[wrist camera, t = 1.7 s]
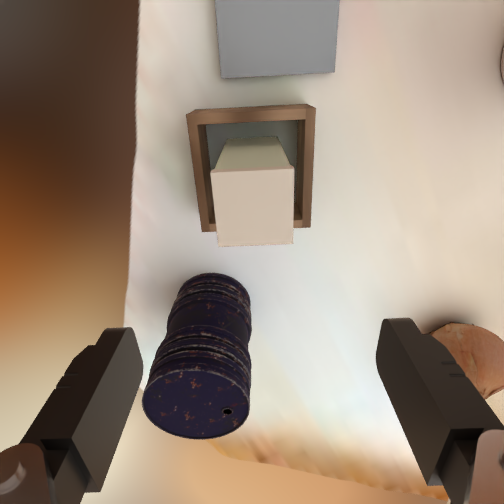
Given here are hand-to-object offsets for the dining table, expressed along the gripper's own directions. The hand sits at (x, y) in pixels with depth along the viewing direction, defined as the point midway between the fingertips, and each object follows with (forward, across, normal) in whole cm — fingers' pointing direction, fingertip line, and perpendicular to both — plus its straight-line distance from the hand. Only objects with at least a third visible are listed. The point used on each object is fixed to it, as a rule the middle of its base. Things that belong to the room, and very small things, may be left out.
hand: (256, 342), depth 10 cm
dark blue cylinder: (+26, +6, +18) cm, 32 cm away
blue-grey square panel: (+26, -2, -14) cm, 29 cm away
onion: (+26, -26, +25) cm, 44 cm away
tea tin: (+26, 0, 0) cm, 26 cm away
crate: (+26, 0, 0) cm, 26 cm away
